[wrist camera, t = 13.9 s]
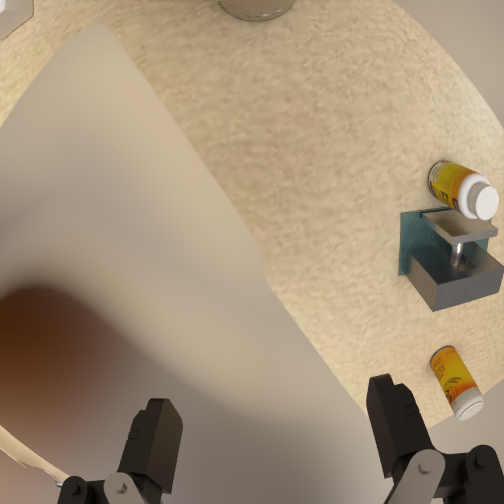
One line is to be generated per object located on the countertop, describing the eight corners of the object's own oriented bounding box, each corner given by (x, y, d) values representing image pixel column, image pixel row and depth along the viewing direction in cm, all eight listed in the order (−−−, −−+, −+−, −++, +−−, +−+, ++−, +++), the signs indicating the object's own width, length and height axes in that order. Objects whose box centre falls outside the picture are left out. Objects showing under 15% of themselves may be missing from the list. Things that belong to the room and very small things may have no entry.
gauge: (400, 213, 36) (436, 243, 28) (491, 201, 34) (531, 225, 26) (398, 274, 40) (426, 313, 32) (484, 255, 39) (517, 285, 30)
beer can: (429, 352, 48) (459, 411, 34) (455, 340, 47) (488, 395, 33) (428, 370, 50) (455, 426, 37) (453, 358, 49) (482, 411, 36)
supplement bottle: (419, 184, 34) (463, 209, 25) (440, 151, 32) (487, 168, 23) (444, 206, 35) (486, 235, 26) (463, 175, 33) (509, 197, 24)
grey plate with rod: (422, 213, 35) (452, 237, 28) (490, 204, 34) (522, 223, 27) (418, 265, 39) (443, 295, 32) (484, 251, 37) (512, 275, 30)
